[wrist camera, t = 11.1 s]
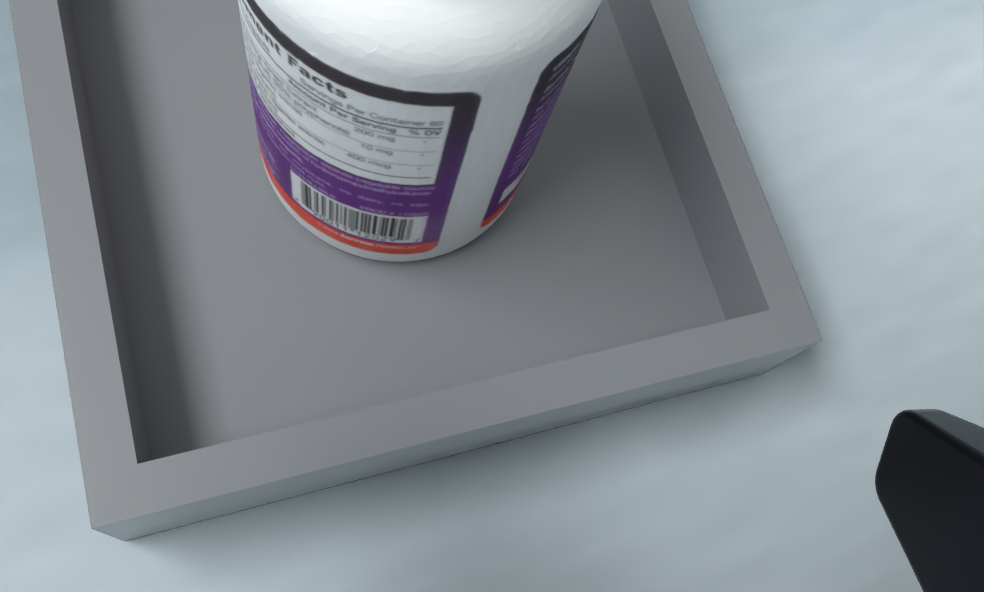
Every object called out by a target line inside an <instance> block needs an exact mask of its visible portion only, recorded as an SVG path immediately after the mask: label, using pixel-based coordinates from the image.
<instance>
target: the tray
mask: <svg viewBox="0 0 984 592" xmlns="http://www.w3.org/2000/svg"><path fill="white" fill-rule="evenodd" d="M9 4H10V10H11V17H12V23H13V30H14V36H15V42H16V49H17V55H18V62H19V68H20V74H21V81H22V87H23V94H24V100H25V106H26V113H27V119H28V126H29V132H30V139H31V145H32V151H33V158H34V164H35V171H36V177H37V183H38V190H39V196H40V203H41V209H42V215H43V222H44V228H45V235H46V241H47V248H48V254H49V260H50V267H51V273H52V280H53V286H54V292H55V299H56V305H57V312H58V318H59V324H60V331H61V337H62V344H63V350H64V357H65V363H66V369H67V376H68V382H69V389H70V395H71V401H72V408H73V414H74V421H75V427H76V433H77V440H78V446H79V453H80V459H81V466H82V472H83V478H84V485H85V491H86V498H87V504H88V510H89V517H90V523H91V528H92V529H94V530H97V531H99V532H102V533H104V534H107V535H110V536H112V537H115V538H117V539H120V540H122V541H127V540H131V539H135V538H138V537H142V536H146V535H150V534H154V533H157V532H161V531H165V530H169V529H173V528H177V527H180V526H184V525H188V524H192V523H196V522H199V521H203V520H207V519H211V518H215V517H218V516H222V515H226V514H230V513H234V512H237V511H241V510H245V509H249V508H253V507H256V506H260V505H264V504H268V503H272V502H275V501H279V500H283V499H287V498H291V497H294V496H298V495H302V494H306V493H310V492H313V491H317V490H321V489H325V488H329V487H332V486H336V485H340V484H344V483H348V482H351V481H355V480H359V479H363V478H367V477H370V476H374V475H378V474H382V473H386V472H389V471H393V470H397V469H401V468H405V467H408V466H412V465H416V464H420V463H424V462H427V461H431V460H435V459H439V458H443V457H446V456H450V455H454V454H458V453H462V452H466V451H469V450H473V449H477V448H481V447H485V446H488V445H492V444H496V443H500V442H504V441H507V440H511V439H515V438H519V437H523V436H526V435H530V434H534V433H538V432H542V431H545V430H549V429H553V428H557V427H561V426H564V425H568V424H572V423H576V422H580V421H583V420H587V419H591V418H595V417H599V416H602V415H606V414H610V413H614V412H618V411H621V410H625V409H629V408H633V407H637V406H640V405H644V404H648V403H652V402H656V401H659V400H663V399H667V398H671V397H675V396H678V395H682V394H686V393H690V392H694V391H697V390H701V389H705V388H709V387H713V386H716V385H720V384H724V383H728V382H732V381H735V380H739V379H743V378H747V377H751V376H755V375H758V374H762V373H764V372H766V371H768V370H769V369H771V368H773V367H775V366H777V365H779V364H780V363H782V362H784V361H786V360H788V359H789V358H791V357H793V356H795V355H797V354H798V353H800V352H802V351H804V350H806V349H807V348H809V347H811V346H813V345H815V344H816V343H818V342H820V341H822V338H821V336H820V333H819V331H818V328H817V326H816V323H815V321H814V318H813V316H812V313H811V311H810V308H809V306H808V303H807V301H806V298H805V296H804V293H803V291H802V288H801V286H800V283H799V281H798V278H797V276H796V273H795V271H794V268H793V266H792V263H791V261H790V258H789V256H788V253H787V251H786V248H785V246H784V243H783V241H782V238H781V236H780V233H779V231H778V228H777V226H776V223H775V221H774V218H773V216H772V213H771V211H770V208H769V206H768V203H767V201H766V198H765V196H764V193H763V191H762V188H761V186H760V184H759V181H758V179H757V176H756V174H755V171H754V169H753V166H752V164H751V161H750V159H749V156H748V154H747V151H746V149H745V146H744V144H743V141H742V139H741V136H740V134H739V131H738V129H737V126H736V124H735V121H734V119H733V116H732V114H731V111H730V109H729V106H728V104H727V101H726V99H725V96H724V94H723V91H722V89H721V86H720V84H719V81H718V79H717V76H716V74H715V71H714V69H713V66H712V64H711V61H710V59H709V56H708V54H707V51H706V49H705V46H704V44H703V41H702V39H701V36H700V34H699V31H698V29H697V26H696V24H695V21H694V19H693V16H692V14H691V11H690V9H689V6H688V4H687V1H686V0H602V2H601V5H600V7H599V9H598V11H597V14H596V16H595V18H594V20H593V22H592V24H591V27H590V29H589V31H588V33H587V35H586V37H585V40H584V42H583V44H582V46H581V48H580V50H579V53H578V55H577V57H576V59H575V62H574V64H573V66H572V68H571V71H570V73H569V75H568V77H567V79H566V82H565V84H564V86H563V88H562V91H561V93H560V95H559V97H558V99H557V102H556V104H555V106H554V109H553V111H552V113H551V116H550V118H549V120H548V122H547V124H546V126H545V129H544V131H543V133H542V136H541V138H540V140H539V143H538V145H537V147H536V149H535V152H534V154H533V156H532V159H531V161H530V163H529V166H528V168H527V170H526V173H525V175H524V177H523V179H522V182H521V184H520V185H519V187H518V189H517V191H516V193H515V194H514V196H513V198H512V200H511V201H510V203H509V204H508V206H507V208H506V209H505V210H504V212H503V213H502V214H501V215H500V217H499V218H498V219H497V220H496V221H495V222H494V223H493V224H492V225H491V226H490V227H489V228H488V229H487V230H486V231H484V232H483V233H482V234H481V235H479V236H478V237H477V238H475V239H474V240H472V241H471V242H469V243H467V244H466V245H464V246H462V247H460V248H458V249H456V250H453V251H451V252H449V253H446V254H443V255H440V256H436V257H433V258H428V259H423V260H416V261H405V262H390V261H379V260H373V259H367V258H363V257H359V256H356V255H353V254H350V253H347V252H345V251H343V250H340V249H338V248H336V247H334V246H332V245H330V244H328V243H326V242H325V241H323V240H322V239H320V238H318V237H317V236H315V235H314V234H313V233H311V232H310V231H309V230H308V229H306V228H305V227H304V226H303V225H301V224H300V223H299V222H298V221H297V220H296V219H295V218H294V217H293V216H292V215H291V214H290V212H289V211H288V210H287V209H286V207H285V206H284V205H283V203H282V202H281V201H280V199H279V198H278V196H277V194H276V193H275V191H274V189H273V187H272V185H271V183H270V181H269V179H268V176H267V173H266V171H265V168H264V164H263V160H262V156H261V152H260V147H259V142H258V137H257V129H256V122H255V115H254V108H253V101H252V95H251V88H250V80H249V73H248V66H247V59H246V52H245V45H244V39H243V32H242V26H241V19H240V11H239V5H238V0H9Z"/></svg>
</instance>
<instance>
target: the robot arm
mask: <svg viewBox="0 0 984 592" xmlns="http://www.w3.org/2000/svg"><path fill="white" fill-rule="evenodd" d="M875 485H876V491H877V495H878V498H879V500H880V502H881V504H882V506H883V509H884V511H885V513H886V515H887V517H888V519H889V521H890V523H891V525H892V527H893V529H894V531H895V533H896V536H897V538H898V540H899V542H900V544H901V546H902V548H903V550H904V552H905V554H906V556H907V558H908V560H909V562H910V565H911V567H912V569H913V571H914V573H915V575H916V577H917V579H918V581H919V583H920V585H921V587H922V589H923V591H924V592H984V428H983V427H980V426H978V425H975V424H973V423H970V422H968V421H966V420H963V419H961V418H958V417H956V416H954V415H951V414H949V413H946V412H944V411H941V410H935V409H921V410H904V411H902V412H900V413H899V414H897V416H896V417H895V418H894V419H893V422H892V424H891V427H890V430H889V433H888V436H887V439H886V443H885V446H884V449H883V452H882V455H881V458H880V461H879V465H878V468H877V471H876V477H875Z"/></svg>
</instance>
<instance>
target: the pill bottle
mask: <svg viewBox="0 0 984 592" xmlns="http://www.w3.org/2000/svg"><path fill="white" fill-rule="evenodd" d="M601 2H602V0H238V5H239V11H240V19H241V26H242V32H243V39H244V45H245V52H246V59H247V66H248V73H249V80H250V88H251V95H252V101H253V108H254V115H255V122H256V129H257V137H258V142H259V147H260V152H261V156H262V160H263V164H264V168H265V171H266V173H267V176H268V179H269V181H270V183H271V185H272V187H273V189H274V191H275V193H276V194H277V196H278V198H279V199H280V201H281V202H282V203H283V205H284V206H285V207H286V209H287V210H288V211H289V212H290V214H291V215H292V216H293V217H294V218H295V219H296V220H297V221H298V222H299V223H300V224H301V225H303V226H304V227H305V228H306V229H308V230H309V231H310V232H311V233H313V234H314V235H315V236H317V237H318V238H320V239H322V240H323V241H325V242H326V243H328V244H330V245H332V246H334V247H336V248H338V249H340V250H343V251H345V252H347V253H350V254H353V255H356V256H359V257H363V258H367V259H373V260H379V261H390V262H405V261H416V260H423V259H428V258H433V257H436V256H440V255H443V254H446V253H449V252H451V251H453V250H456V249H458V248H460V247H462V246H464V245H466V244H467V243H469V242H471V241H472V240H474V239H475V238H477V237H478V236H479V235H481V234H482V233H483V232H484V231H486V230H487V229H488V228H489V227H490V226H491V225H492V224H493V223H494V222H495V221H496V220H497V219H498V218H499V217H500V215H501V214H502V213H503V212H504V210H505V209H506V208H507V206H508V204H509V203H510V201H511V200H512V198H513V196H514V194H515V193H516V191H517V189H518V187H519V185H520V184H521V182H522V179H523V177H524V175H525V173H526V170H527V168H528V166H529V163H530V161H531V159H532V156H533V154H534V152H535V149H536V147H537V145H538V143H539V140H540V138H541V136H542V133H543V131H544V129H545V126H546V124H547V122H548V120H549V118H550V116H551V113H552V111H553V109H554V106H555V104H556V102H557V99H558V97H559V95H560V93H561V91H562V88H563V86H564V84H565V82H566V79H567V77H568V75H569V73H570V71H571V68H572V66H573V64H574V62H575V59H576V57H577V55H578V53H579V50H580V48H581V46H582V44H583V42H584V40H585V37H586V35H587V33H588V31H589V29H590V27H591V24H592V22H593V20H594V18H595V16H596V14H597V11H598V9H599V7H600V5H601Z"/></svg>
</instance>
